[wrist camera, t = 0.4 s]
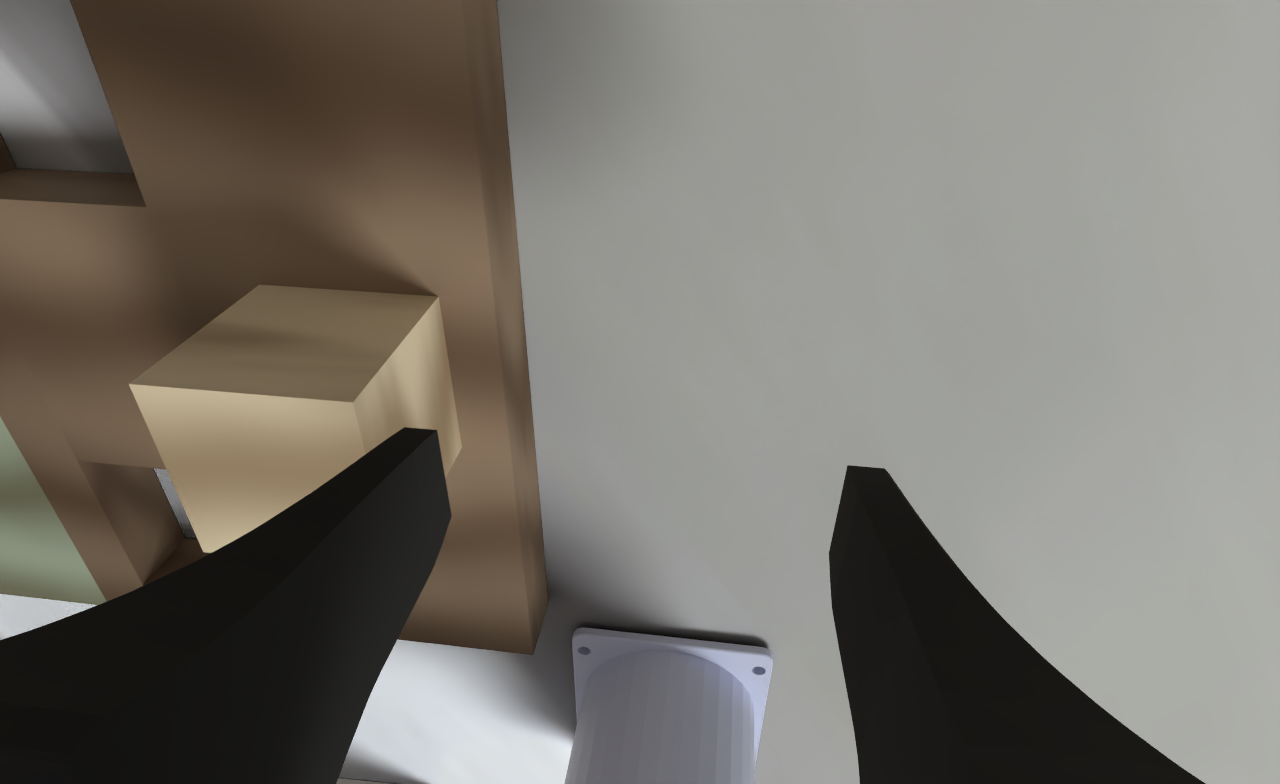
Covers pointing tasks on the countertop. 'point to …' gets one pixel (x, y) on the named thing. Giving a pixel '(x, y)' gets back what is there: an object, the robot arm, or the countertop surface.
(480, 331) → the trap board
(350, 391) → the maple cube
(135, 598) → the robot arm
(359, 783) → the soap dispenser
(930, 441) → the countertop surface
